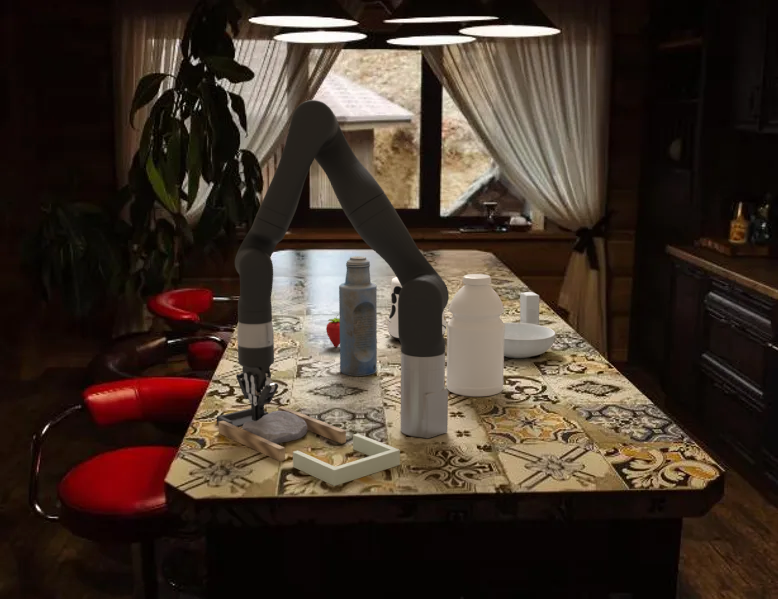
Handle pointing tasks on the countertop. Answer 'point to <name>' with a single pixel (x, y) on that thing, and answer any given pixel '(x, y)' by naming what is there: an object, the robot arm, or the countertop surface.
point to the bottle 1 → (358, 319)
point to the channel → (274, 449)
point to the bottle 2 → (475, 339)
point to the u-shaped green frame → (377, 461)
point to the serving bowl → (526, 340)
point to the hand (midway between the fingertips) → (257, 420)
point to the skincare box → (529, 308)
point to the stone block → (278, 427)
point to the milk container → (393, 314)
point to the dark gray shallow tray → (237, 417)
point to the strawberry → (334, 331)
